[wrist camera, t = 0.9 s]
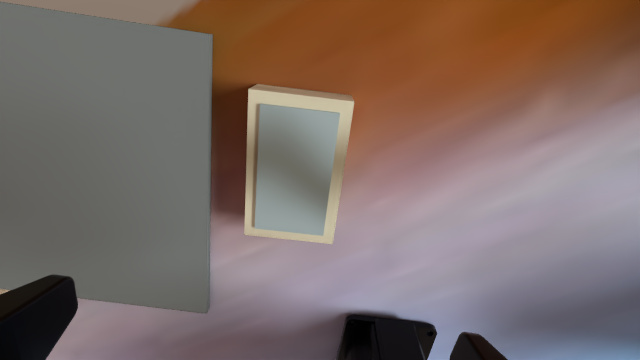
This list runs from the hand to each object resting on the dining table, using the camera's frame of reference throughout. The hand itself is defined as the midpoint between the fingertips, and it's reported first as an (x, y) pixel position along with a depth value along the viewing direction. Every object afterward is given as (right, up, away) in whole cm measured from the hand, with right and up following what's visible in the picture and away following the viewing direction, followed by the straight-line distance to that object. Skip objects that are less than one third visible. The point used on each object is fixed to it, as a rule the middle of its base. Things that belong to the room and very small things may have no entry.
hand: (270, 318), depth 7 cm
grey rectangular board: (-17, +4, +12) cm, 21 cm away
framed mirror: (0, +4, +11) cm, 12 cm away
